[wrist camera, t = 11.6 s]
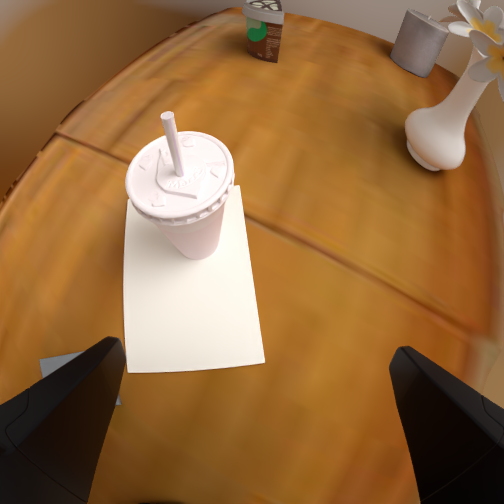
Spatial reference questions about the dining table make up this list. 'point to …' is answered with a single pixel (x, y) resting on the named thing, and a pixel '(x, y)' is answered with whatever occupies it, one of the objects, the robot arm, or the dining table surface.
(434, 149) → the flower vase
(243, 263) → the paper
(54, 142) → the dining table surface
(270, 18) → the food container
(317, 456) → the dining table surface
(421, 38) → the pillar candle
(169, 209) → the smoothie
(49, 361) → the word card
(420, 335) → the dining table surface
